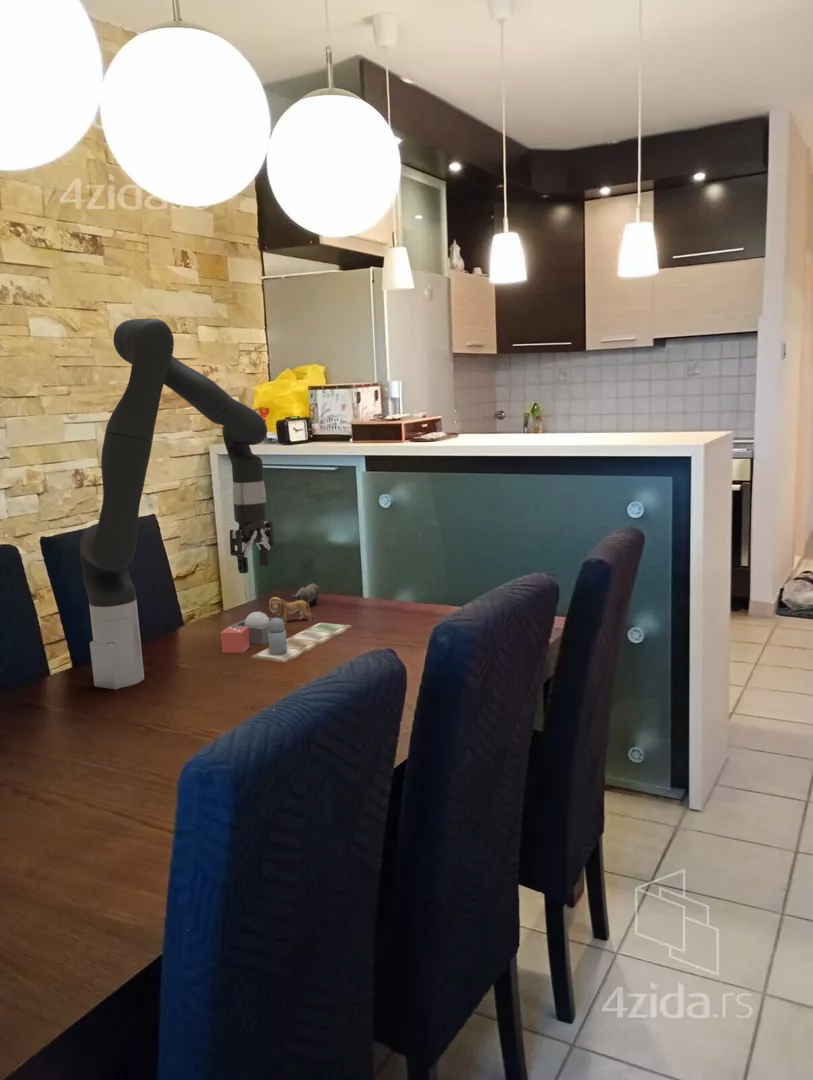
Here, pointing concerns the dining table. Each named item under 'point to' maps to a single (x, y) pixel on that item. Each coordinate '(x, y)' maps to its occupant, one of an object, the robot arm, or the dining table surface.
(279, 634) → the pawn
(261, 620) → the dome
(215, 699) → the dining table surface
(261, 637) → the dome collar
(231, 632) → the die
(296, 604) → the lion figurine
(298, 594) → the rhino figurine
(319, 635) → the board
